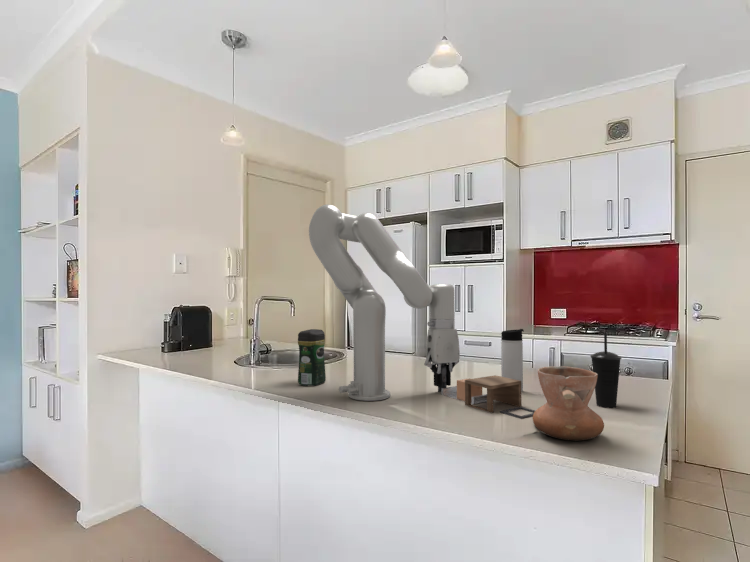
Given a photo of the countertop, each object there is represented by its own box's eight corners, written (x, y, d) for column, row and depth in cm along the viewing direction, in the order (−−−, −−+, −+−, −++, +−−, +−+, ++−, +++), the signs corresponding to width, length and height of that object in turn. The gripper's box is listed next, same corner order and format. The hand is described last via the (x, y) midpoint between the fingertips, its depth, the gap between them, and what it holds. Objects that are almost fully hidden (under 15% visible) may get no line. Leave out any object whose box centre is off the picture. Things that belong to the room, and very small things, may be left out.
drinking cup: (619, 403, 126) (618, 332, 127) (624, 410, 119) (623, 334, 120) (589, 401, 129) (588, 331, 129) (592, 407, 122) (592, 333, 122)
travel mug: (525, 397, 134) (524, 330, 134) (502, 396, 135) (501, 329, 135) (522, 392, 140) (522, 328, 140) (500, 391, 141) (500, 327, 141)
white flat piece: (473, 408, 120) (473, 371, 121) (430, 395, 135) (430, 362, 136) (491, 405, 124) (491, 368, 124) (447, 392, 139) (447, 360, 139)
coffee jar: (310, 380, 159) (310, 327, 160) (329, 382, 156) (329, 328, 156) (293, 385, 151) (293, 330, 151) (313, 387, 147) (313, 331, 148)
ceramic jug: (608, 452, 89) (608, 380, 89) (531, 443, 94) (530, 375, 94) (599, 426, 105) (598, 365, 106) (534, 420, 111) (533, 362, 111)
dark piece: (521, 424, 107) (521, 417, 107) (499, 418, 112) (499, 410, 112) (541, 419, 111) (541, 412, 111) (520, 413, 116) (520, 406, 116)
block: (469, 401, 123) (469, 383, 123) (456, 398, 127) (456, 380, 127) (482, 399, 126) (482, 381, 126) (469, 395, 130) (469, 378, 130)
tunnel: (490, 418, 112) (490, 386, 112) (465, 410, 120) (464, 379, 120) (521, 411, 118) (521, 380, 119) (495, 403, 126) (495, 375, 126)
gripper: (429, 326, 129) (429, 391, 129) (470, 324, 138) (470, 384, 137) (413, 325, 135) (413, 386, 135) (453, 322, 144) (453, 380, 144)
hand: (442, 385), depth 136 cm, fingers closed on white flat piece, 2 cm apart
